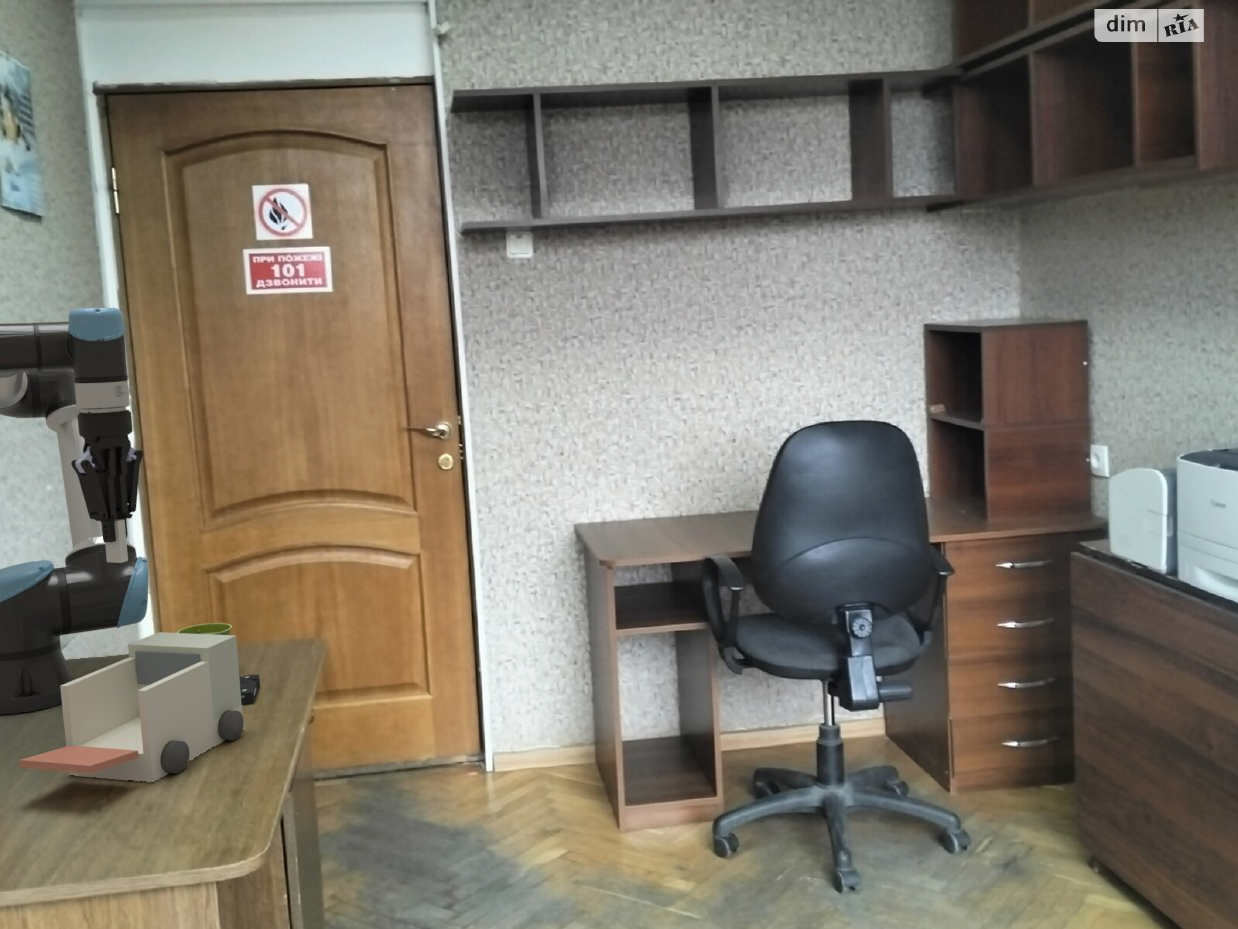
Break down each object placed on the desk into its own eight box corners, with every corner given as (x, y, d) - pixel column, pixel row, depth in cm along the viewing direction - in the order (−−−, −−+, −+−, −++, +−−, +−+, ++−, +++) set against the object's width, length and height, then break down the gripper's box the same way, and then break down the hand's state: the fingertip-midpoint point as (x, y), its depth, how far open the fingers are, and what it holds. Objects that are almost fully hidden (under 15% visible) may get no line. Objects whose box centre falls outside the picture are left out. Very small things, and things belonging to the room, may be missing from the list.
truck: (60, 774, 161) (50, 671, 160) (159, 724, 181) (151, 632, 180) (162, 783, 157) (152, 677, 155) (251, 730, 177) (243, 635, 175)
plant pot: (182, 672, 210) (178, 626, 209) (236, 665, 213) (232, 620, 212) (178, 686, 201) (174, 638, 200) (235, 679, 204) (231, 632, 203)
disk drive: (260, 689, 200) (170, 696, 197) (259, 673, 200) (169, 681, 197) (254, 707, 190) (160, 716, 187) (253, 691, 190) (158, 699, 187)
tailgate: (70, 754, 159) (19, 770, 151) (70, 745, 159) (19, 760, 151) (138, 760, 156) (90, 776, 148) (138, 750, 156) (90, 765, 148)
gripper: (92, 414, 167) (107, 572, 170) (153, 405, 179) (165, 553, 183) (51, 413, 169) (66, 569, 172) (114, 405, 182) (127, 551, 185)
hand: (117, 561), depth 178 cm, fingers closed
